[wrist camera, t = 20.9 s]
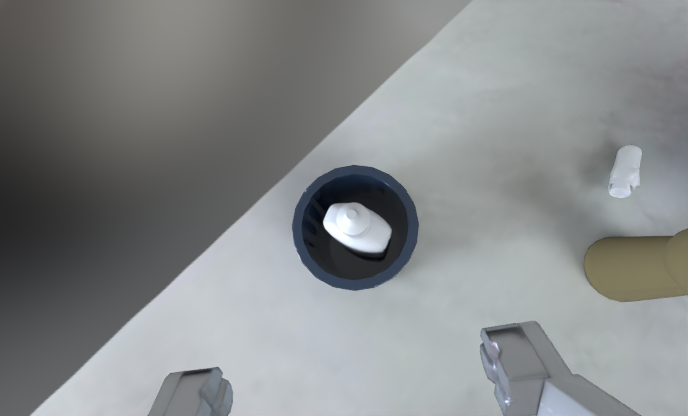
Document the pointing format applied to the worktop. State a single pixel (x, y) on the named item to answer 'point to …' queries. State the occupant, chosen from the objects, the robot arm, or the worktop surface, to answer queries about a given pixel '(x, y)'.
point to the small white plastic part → (625, 171)
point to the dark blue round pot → (328, 253)
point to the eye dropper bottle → (358, 229)
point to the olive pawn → (639, 267)
